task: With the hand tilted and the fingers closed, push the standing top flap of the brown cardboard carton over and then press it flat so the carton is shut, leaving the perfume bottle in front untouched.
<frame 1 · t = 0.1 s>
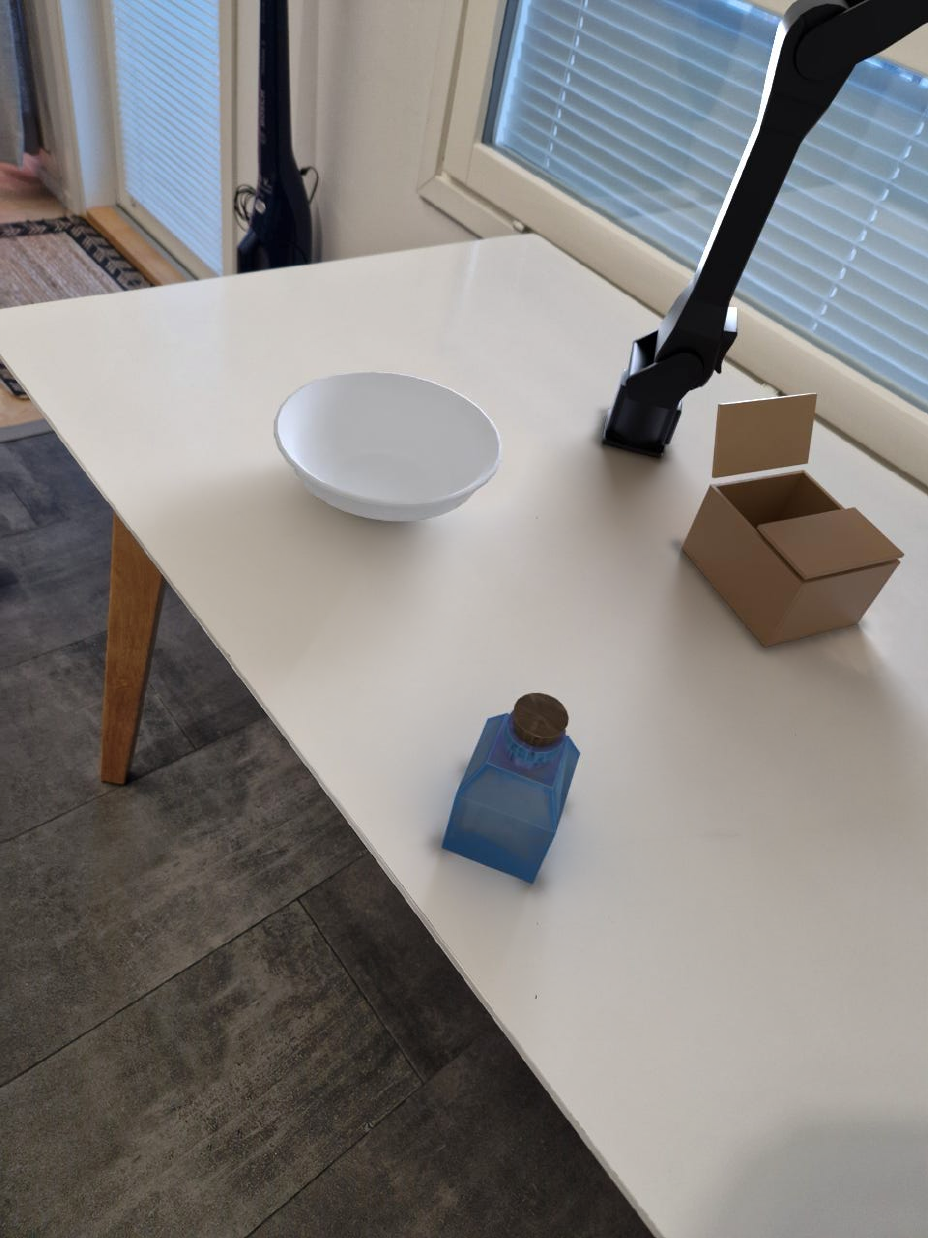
bowl: (383, 491, 80), on the table
flap: (764, 434, 76), point 11 cm above the table, hinge at 115.0°
perfume bottle: (500, 827, 57), on the table
carton: (767, 584, 79), on the table
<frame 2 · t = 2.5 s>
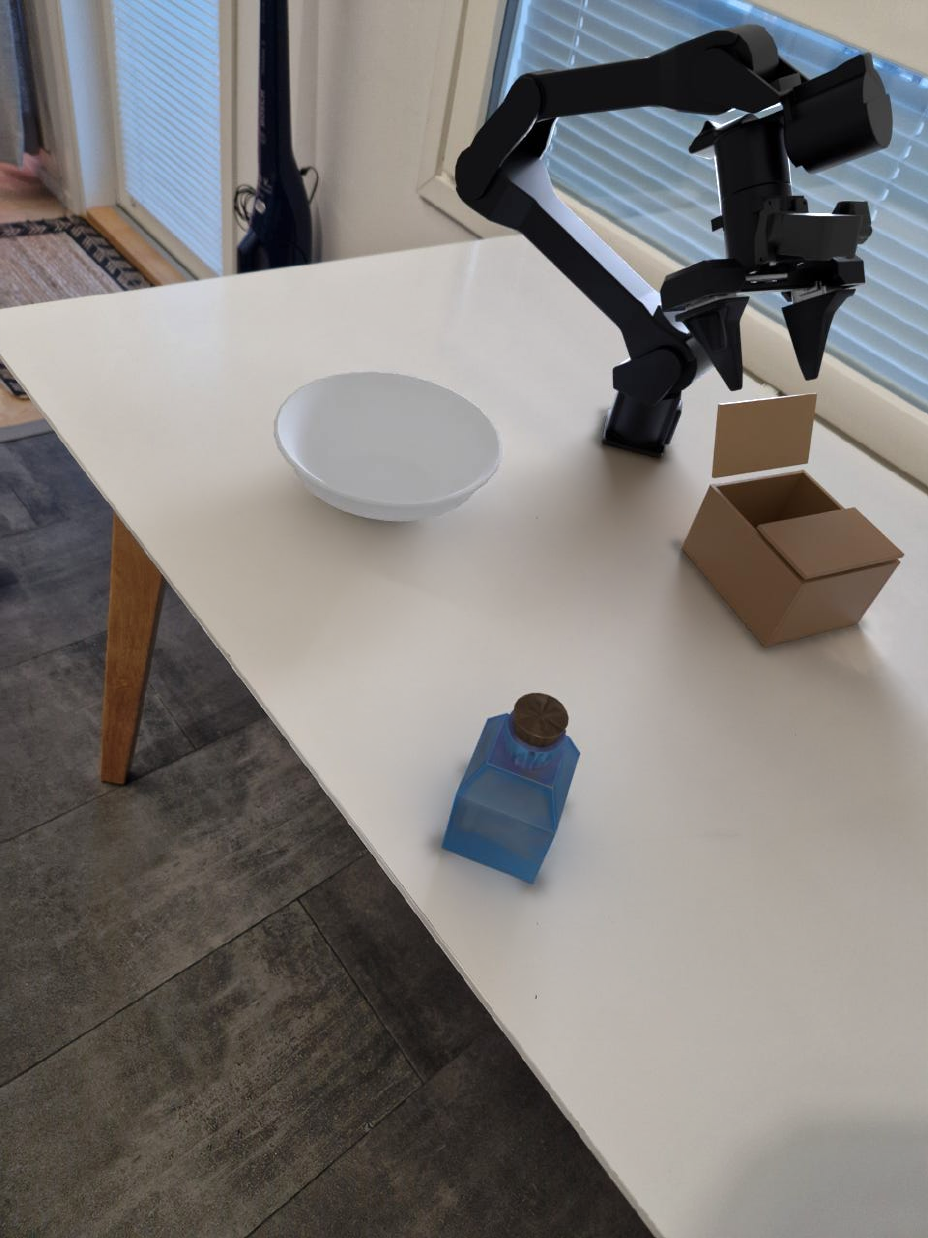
hand: (775, 384, 75), 14 cm above the table, tool tilted 40°, fingers open, 9 cm apart
nothing on the table moved.
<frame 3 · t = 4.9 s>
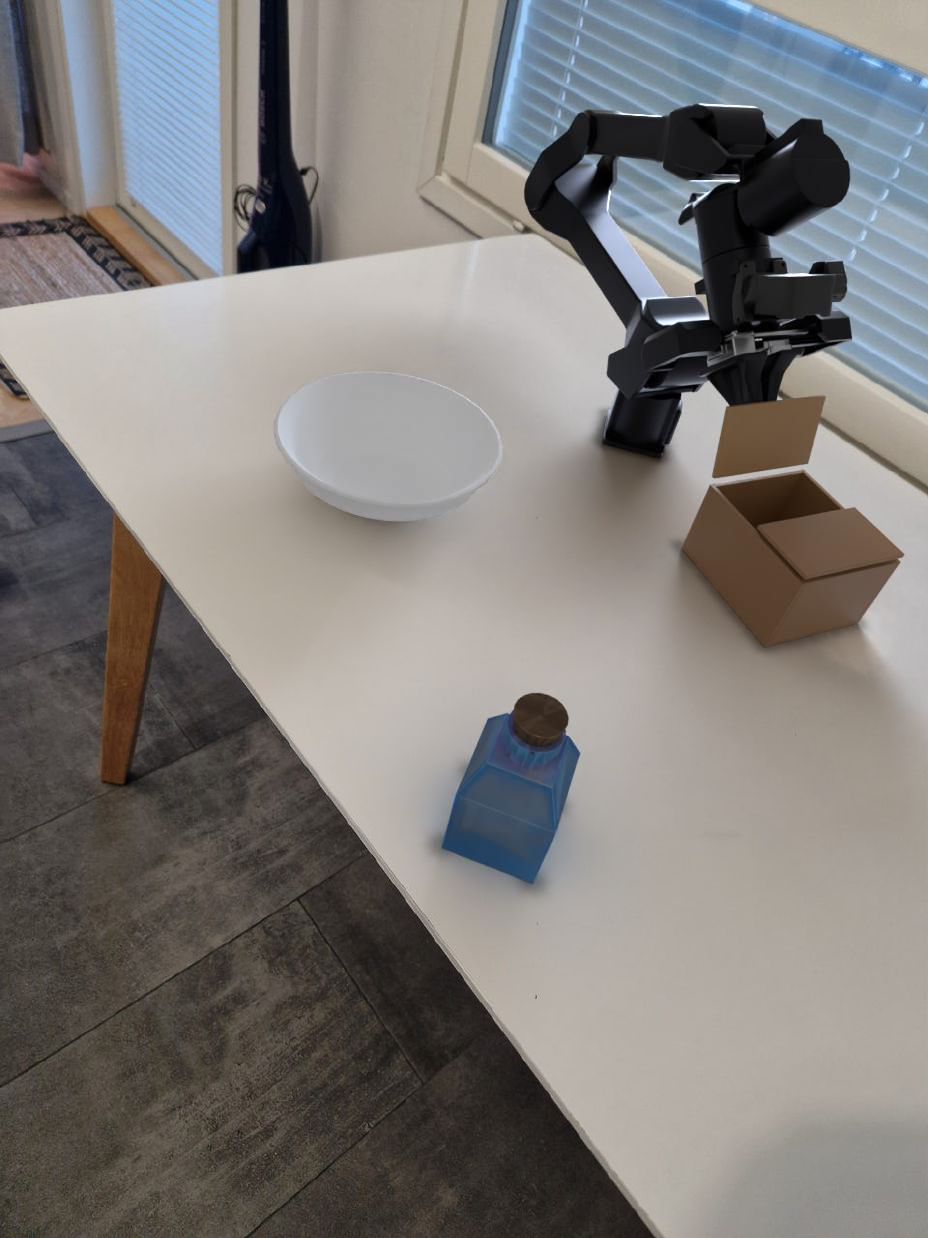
hand: (761, 439, 76), 10 cm above the table, tool tilted 45°, fingers closed, pressing on flap
flap: (769, 436, 75), point 11 cm above the table, hinge at 105.7°, touching gripper
everything else where it was.
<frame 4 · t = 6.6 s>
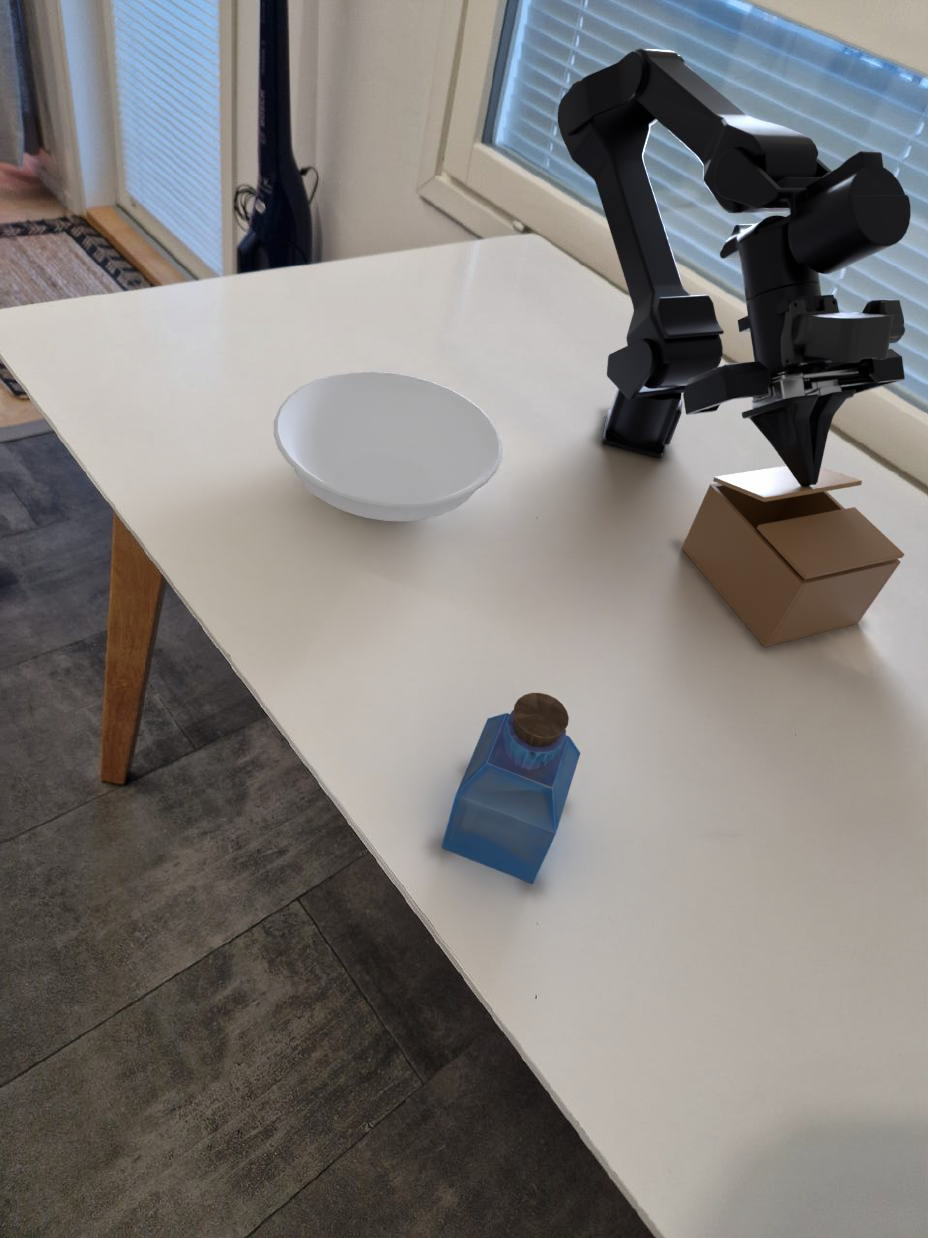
hand: (809, 485, 72), 10 cm above the table, tool tilted 45°, fingers closed, pressing on flap
flap: (787, 480, 74), point 9 cm above the table, hinge at 21.5°, touching gripper
everything else where it was.
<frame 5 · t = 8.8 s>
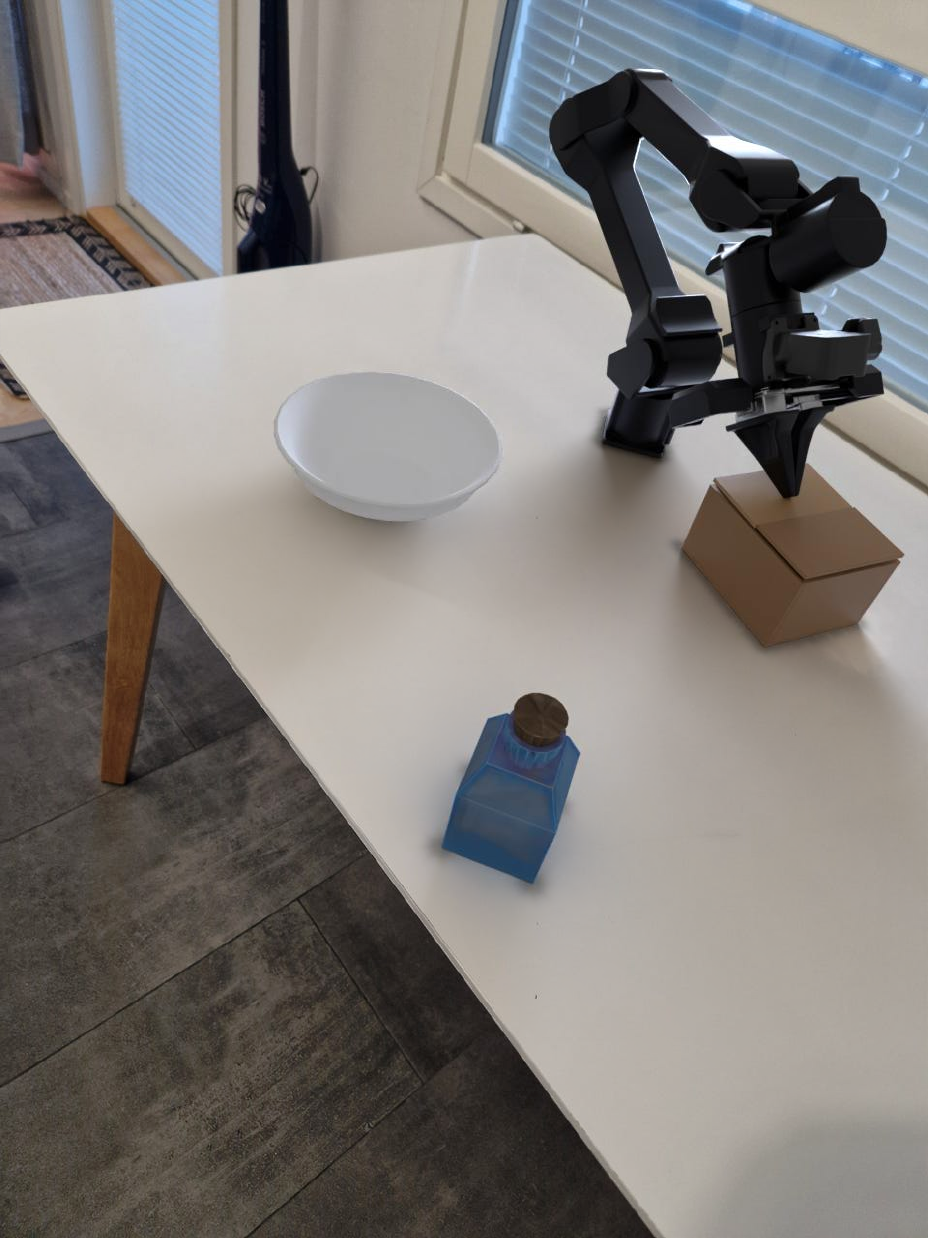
hand: (791, 497, 74), 8 cm above the table, tool tilted 45°, fingers closed, pressing on flap
flap: (782, 494, 75), point 8 cm above the table, hinge at -1.4°, touching gripper
everything else where it was.
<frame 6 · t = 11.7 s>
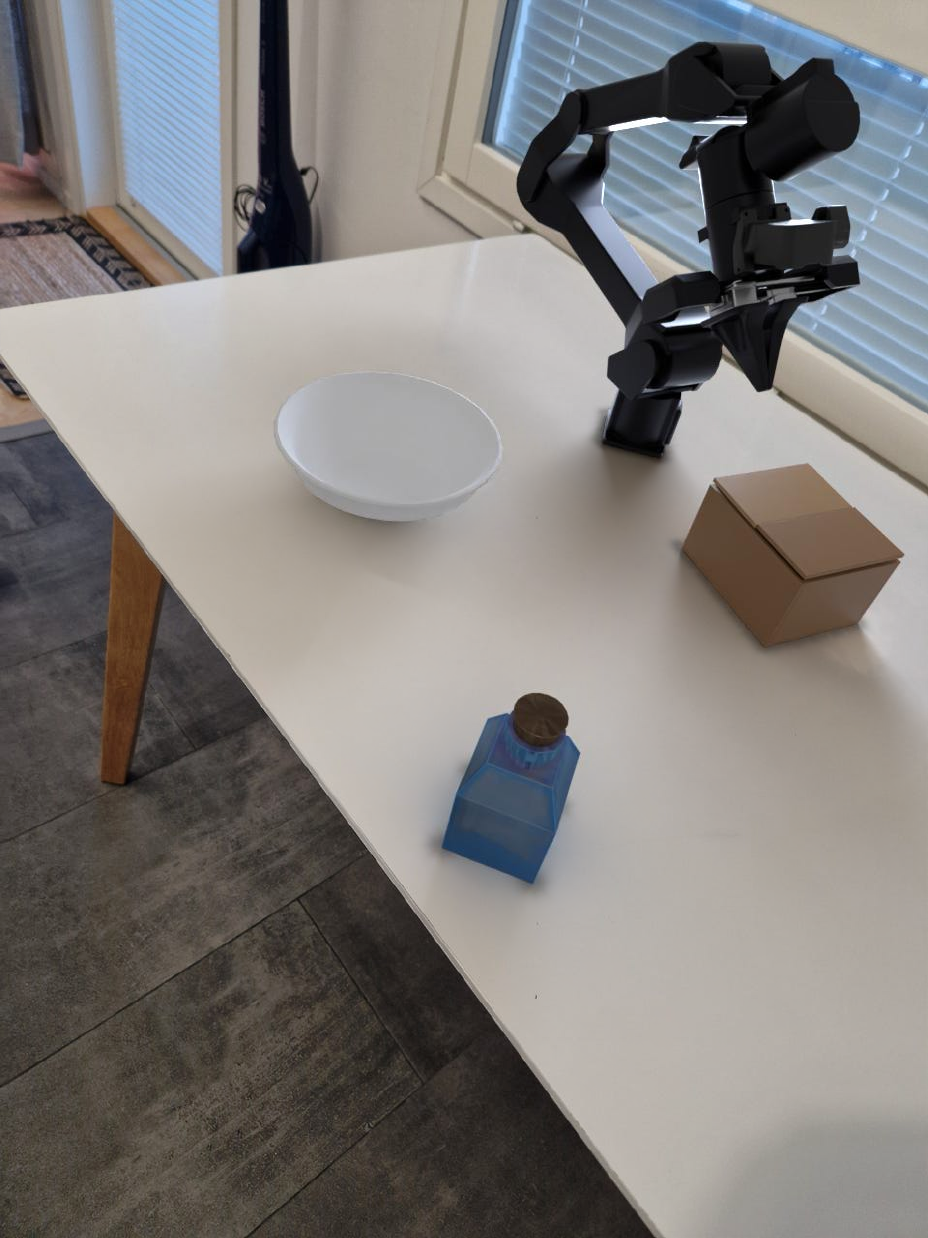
hand: (764, 391, 75), 14 cm above the table, tool tilted 40°, fingers closed
flap: (782, 494, 75), point 8 cm above the table, hinge at -1.3°
everything else where it was.
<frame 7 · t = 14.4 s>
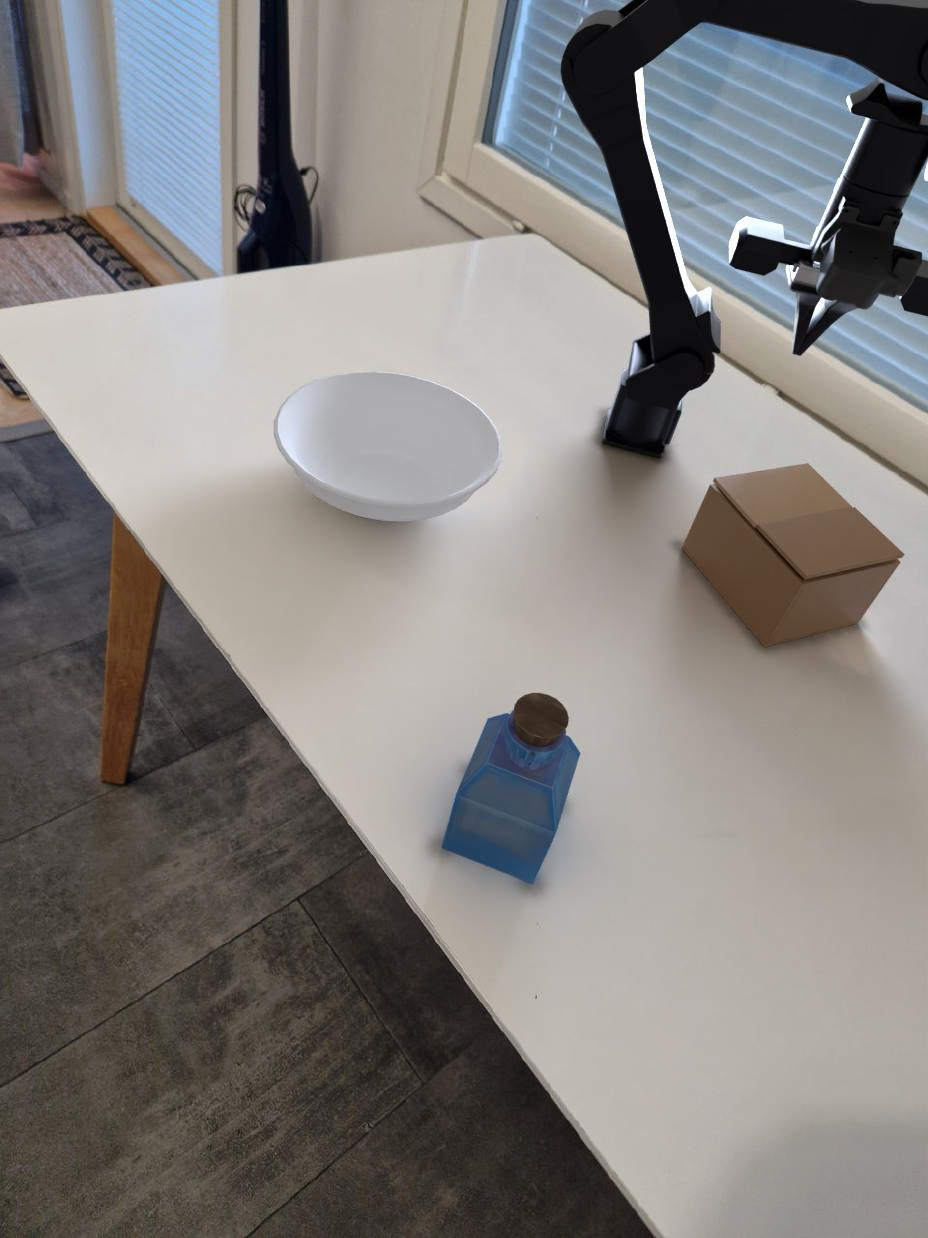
hand: (795, 353, 83), 13 cm above the table, tool pointing down, fingers closed
nothing on the table moved.
at the end: flap at -1° (first picture: +115°); perfume bottle moved 0.2 cm from its start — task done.
